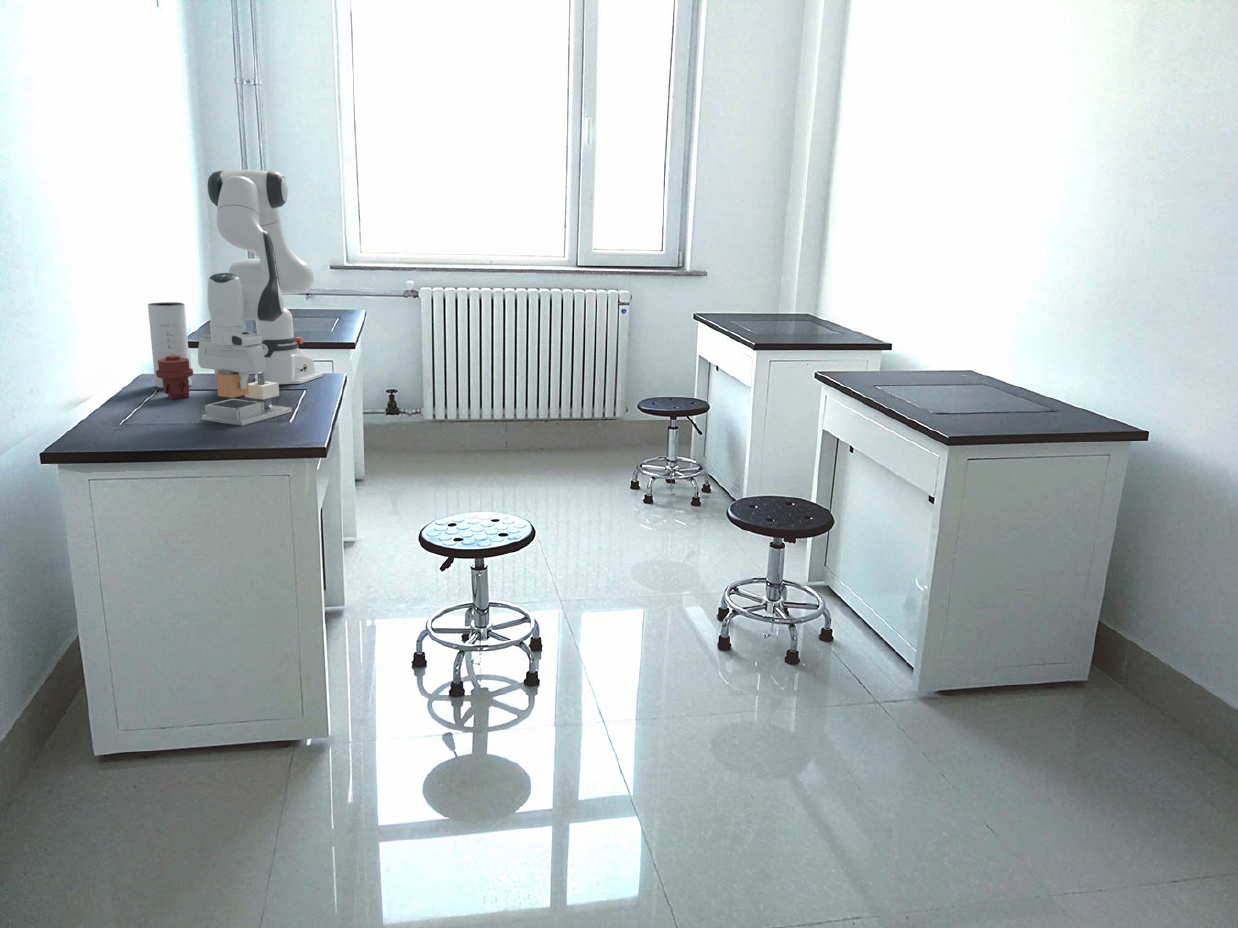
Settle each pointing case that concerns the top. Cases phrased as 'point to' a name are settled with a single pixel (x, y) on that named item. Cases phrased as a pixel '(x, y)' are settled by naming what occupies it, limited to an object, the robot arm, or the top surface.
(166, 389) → the mechanical component
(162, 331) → the speaker
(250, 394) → the square housing
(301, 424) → the top surface
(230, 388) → the block
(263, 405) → the chassis
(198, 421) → the top surface
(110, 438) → the top surface
